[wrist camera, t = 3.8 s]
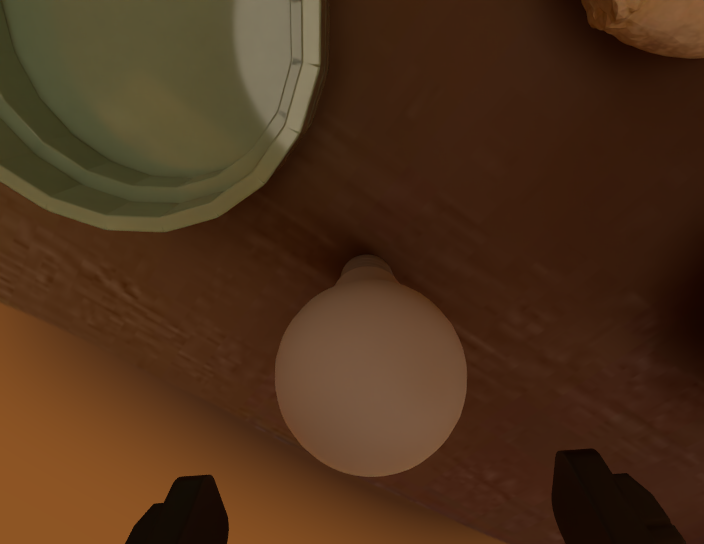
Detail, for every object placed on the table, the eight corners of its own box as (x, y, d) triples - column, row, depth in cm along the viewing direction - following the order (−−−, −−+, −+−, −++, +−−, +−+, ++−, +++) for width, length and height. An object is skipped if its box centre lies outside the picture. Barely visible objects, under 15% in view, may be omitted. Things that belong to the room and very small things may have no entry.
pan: (-65, 65, 17) (-196, 60, 13) (62, -328, 13) (-79, -521, 9) (220, 254, 21) (185, 298, 17) (401, -3, 16) (415, -31, 12)
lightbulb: (350, 186, 19) (340, 302, 9) (453, 257, 20) (542, 425, 10) (282, 285, 21) (214, 466, 11) (380, 343, 23) (396, 551, 13)
